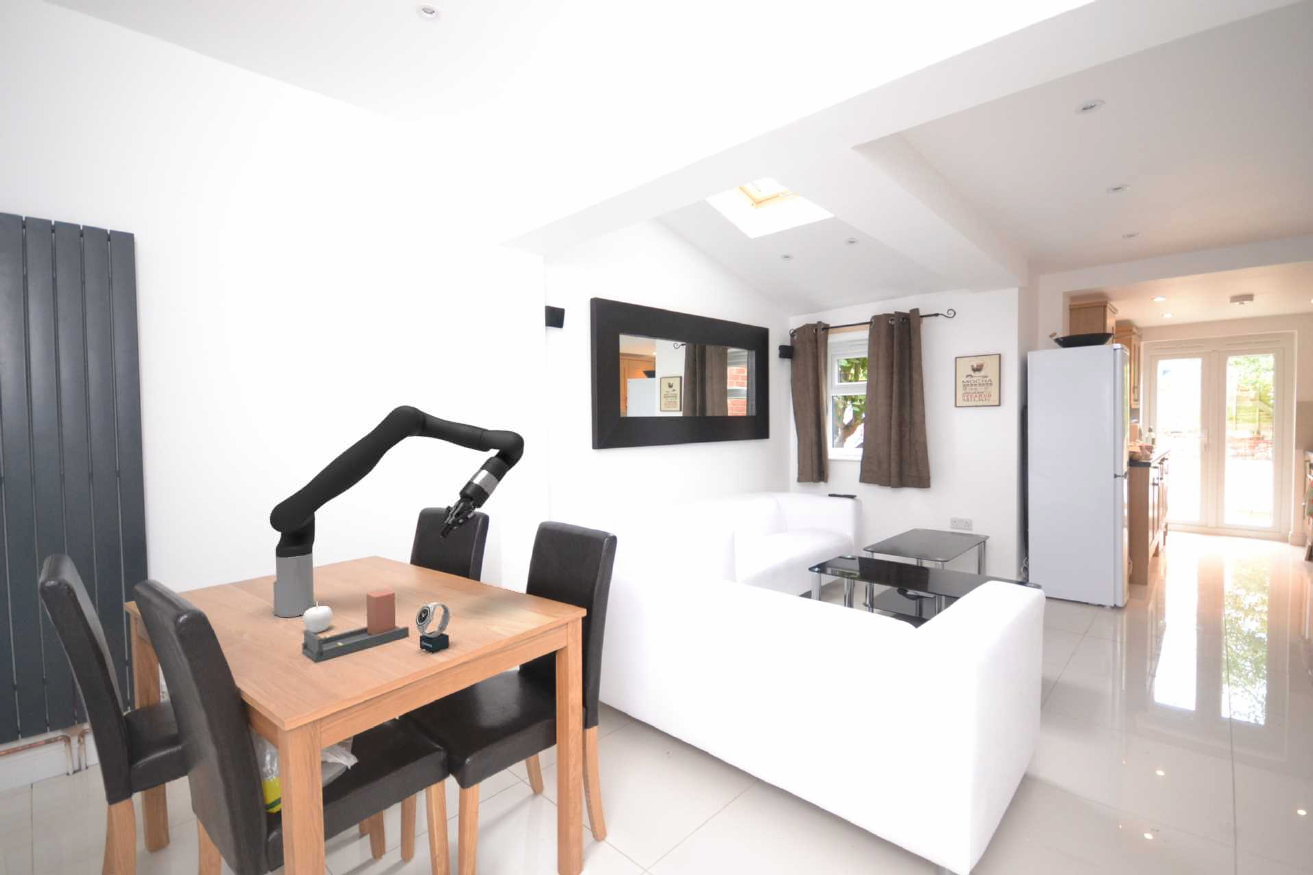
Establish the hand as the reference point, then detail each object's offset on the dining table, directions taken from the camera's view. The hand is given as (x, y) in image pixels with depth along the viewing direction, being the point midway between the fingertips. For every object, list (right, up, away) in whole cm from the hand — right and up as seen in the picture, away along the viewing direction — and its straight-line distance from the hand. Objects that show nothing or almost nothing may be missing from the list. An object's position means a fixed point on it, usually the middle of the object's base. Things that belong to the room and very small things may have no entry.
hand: (441, 536), depth 166 cm
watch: (+5, -24, -19) cm, 32 cm away
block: (-11, -23, -12) cm, 28 cm away
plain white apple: (-31, -24, -6) cm, 40 cm away
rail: (-16, -24, -17) cm, 34 cm away
